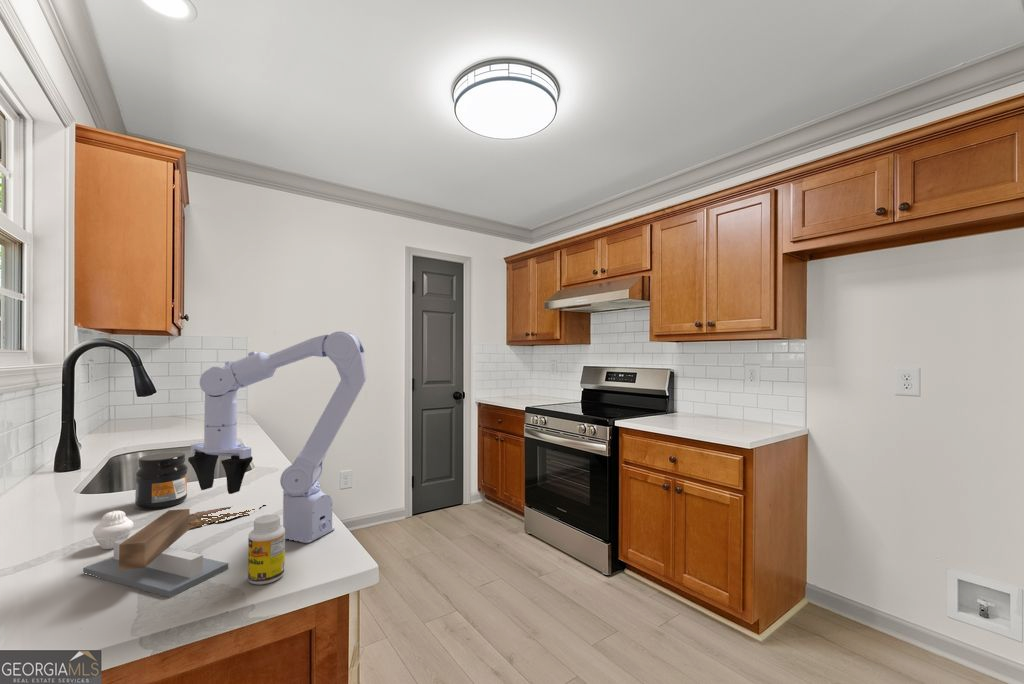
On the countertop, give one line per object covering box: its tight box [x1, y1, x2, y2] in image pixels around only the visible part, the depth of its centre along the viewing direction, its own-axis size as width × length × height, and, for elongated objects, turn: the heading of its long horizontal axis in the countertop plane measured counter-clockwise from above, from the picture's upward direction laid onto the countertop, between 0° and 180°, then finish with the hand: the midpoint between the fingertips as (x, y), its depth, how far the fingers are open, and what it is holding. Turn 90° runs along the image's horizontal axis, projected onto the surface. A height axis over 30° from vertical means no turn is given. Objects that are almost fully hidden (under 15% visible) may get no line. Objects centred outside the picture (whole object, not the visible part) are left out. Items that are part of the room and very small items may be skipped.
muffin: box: [92, 510, 134, 550], centre depth 91 cm, size 6×6×7 cm
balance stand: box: [82, 537, 229, 598], centre depth 81 cm, size 22×10×4 cm, turn 70°
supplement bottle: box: [247, 514, 286, 586], centre depth 79 cm, size 6×6×10 cm
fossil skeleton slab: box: [189, 506, 255, 530], centre depth 107 cm, size 26×11×1 cm, turn 138°
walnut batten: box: [119, 508, 190, 570], centre depth 81 cm, size 4×16×4 cm, turn 13°
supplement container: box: [134, 451, 189, 511], centre depth 116 cm, size 10×10×12 cm
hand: (220, 490), depth 95 cm, fingers open, 7 cm apart
